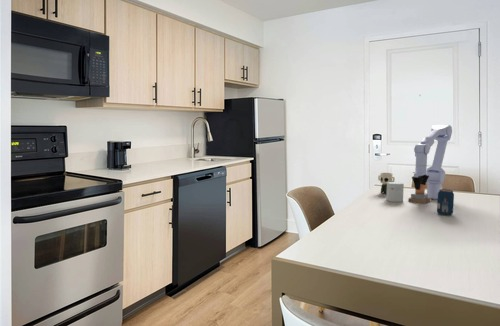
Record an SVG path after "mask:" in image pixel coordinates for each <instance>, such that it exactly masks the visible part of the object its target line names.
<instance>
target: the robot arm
mask: <svg viewBox="0 0 500 326" xmlns="http://www.w3.org/2000/svg"><path fill="white" fill-rule="evenodd" d="M430 131H431V132H430V133H429V135H427V136H425V137H423V139H422V140H421V142H420V143H417V144H415V146H414V148H413V151H414V156H415V171H413V172H412V173H413V176H411V179H412V181H413V184H414V189H417V190H420V186H421V184H423V185H425V186H426V185H427V186H426V193H428V198H431V199H437V200H438V192H439V190H441V189H443V185H442V184H443V183H444V181H445V179H446V171H445V170H444V169H443V168H442V165H443V160H444V158H445V153H446V149H447V145H448V141H450V140H451V137H452V134H453V128H452V125H450V124H447V125H446V124H445V125H444V124H433V125H432V126H431V130H430ZM435 141H437V144H436V147H435V148H436V149H435V153H434V156H433V161H432V165H431V166H429V167H428V166H427V165H428V154H429V153H430V150H431V148H432V147H433V145H434V144H435ZM427 167H428V168H427Z"/></svg>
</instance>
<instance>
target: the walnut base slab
mask: <svg viewBox="0 0 500 326" xmlns="http://www.w3.org/2000/svg"><path fill="white" fill-rule="evenodd" d="M431 199H432V198H426V199H424V200H422V199H414V198H411V196H410V197H408V199H407V200H408V202H409V203H415V202H416V203H417V204H424V205H425V204H428V203H430V202H431V201H432V200H431Z"/></svg>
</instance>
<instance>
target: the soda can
mask: <svg viewBox="0 0 500 326" xmlns="http://www.w3.org/2000/svg"><path fill="white" fill-rule="evenodd" d="M454 201H455V194H454V191H453V190H451V189H445V188H442V189H441V190H439V192H438V199H437V202H436V203H437V204H436V205H437V206H436V212H437V215H440V216H443V217H444V216H446V217H450V216H453V214H454V204H455V203H454Z"/></svg>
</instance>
